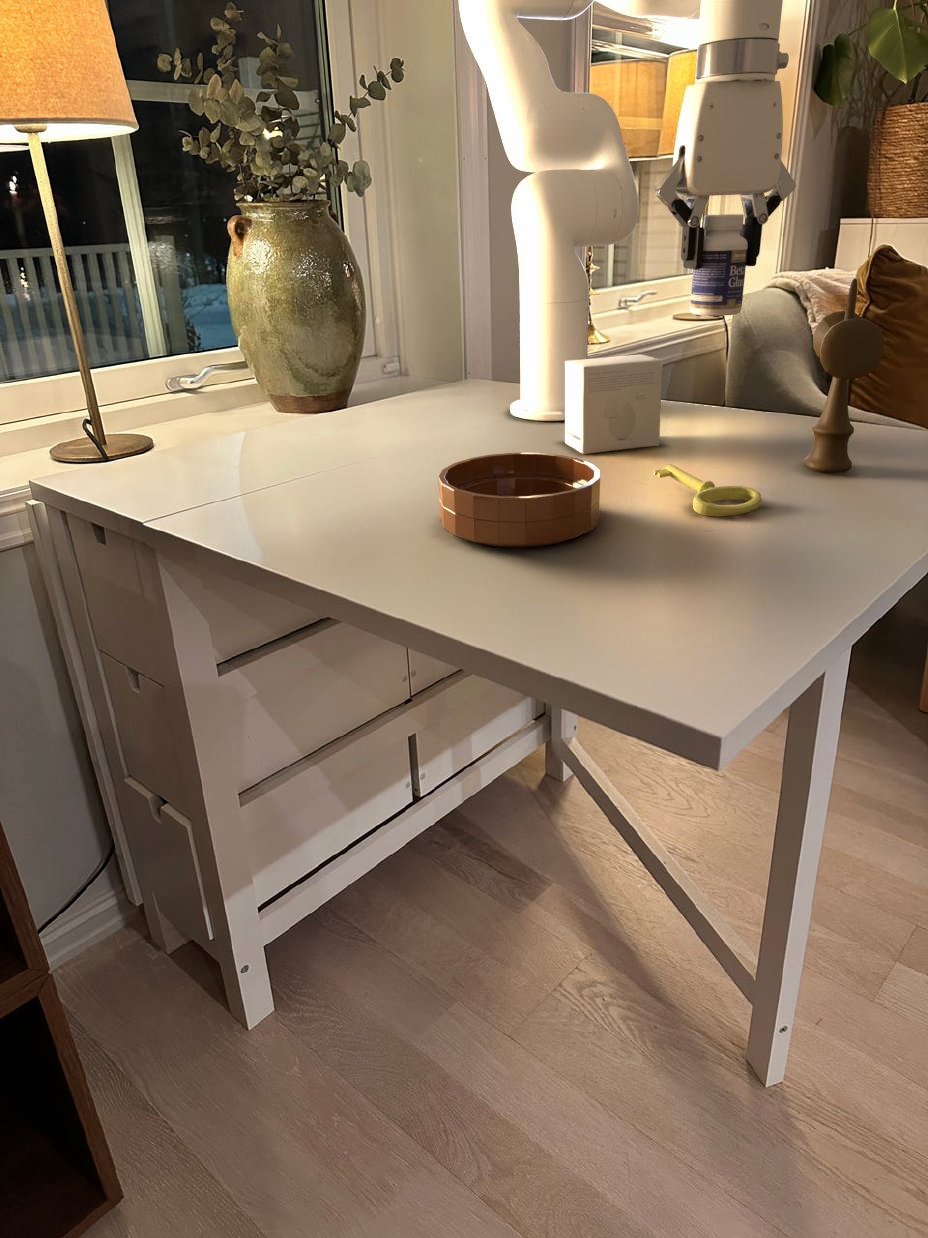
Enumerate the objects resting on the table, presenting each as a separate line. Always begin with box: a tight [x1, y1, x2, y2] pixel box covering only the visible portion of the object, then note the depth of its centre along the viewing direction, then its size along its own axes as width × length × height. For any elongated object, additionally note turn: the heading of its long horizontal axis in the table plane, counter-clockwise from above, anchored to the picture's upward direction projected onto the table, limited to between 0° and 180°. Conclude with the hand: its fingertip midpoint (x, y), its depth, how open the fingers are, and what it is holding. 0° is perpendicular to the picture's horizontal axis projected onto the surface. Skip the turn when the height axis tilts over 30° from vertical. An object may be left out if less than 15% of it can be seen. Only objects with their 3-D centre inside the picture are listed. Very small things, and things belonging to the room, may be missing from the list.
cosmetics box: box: [564, 353, 664, 455], centre depth 109 cm, size 10×6×10 cm, turn 105°
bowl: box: [437, 452, 601, 548], centre depth 85 cm, size 15×15×5 cm
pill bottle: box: [689, 213, 748, 317], centre depth 94 cm, size 5×5×10 cm
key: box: [653, 463, 762, 517], centre depth 90 cm, size 7×12×2 cm, turn 43°
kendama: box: [803, 278, 885, 474], centre depth 94 cm, size 6×10×20 cm, turn 167°
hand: (719, 264), depth 94 cm, fingers closed on pill bottle, 5 cm apart
